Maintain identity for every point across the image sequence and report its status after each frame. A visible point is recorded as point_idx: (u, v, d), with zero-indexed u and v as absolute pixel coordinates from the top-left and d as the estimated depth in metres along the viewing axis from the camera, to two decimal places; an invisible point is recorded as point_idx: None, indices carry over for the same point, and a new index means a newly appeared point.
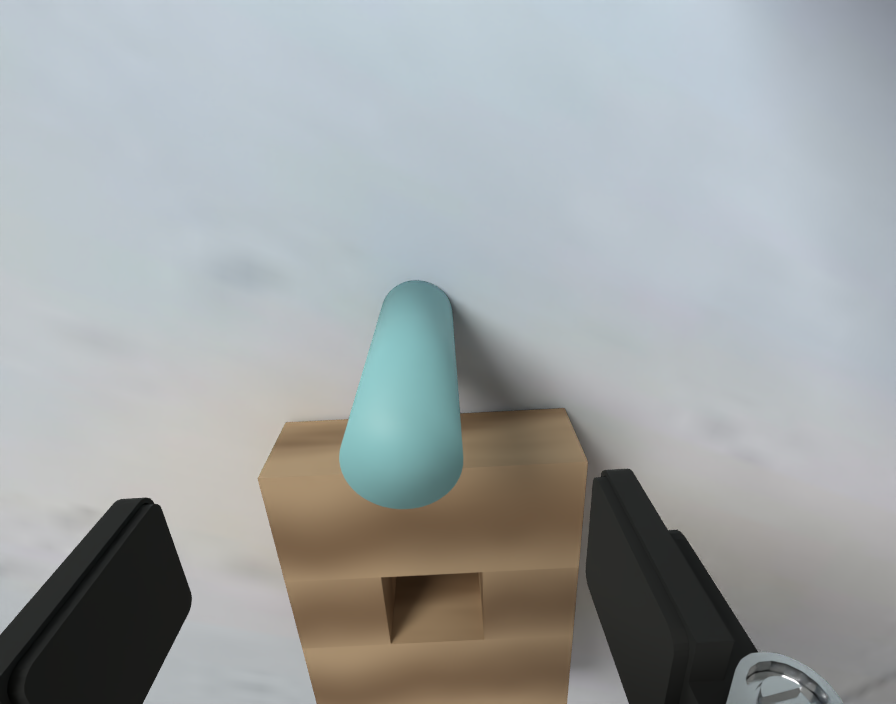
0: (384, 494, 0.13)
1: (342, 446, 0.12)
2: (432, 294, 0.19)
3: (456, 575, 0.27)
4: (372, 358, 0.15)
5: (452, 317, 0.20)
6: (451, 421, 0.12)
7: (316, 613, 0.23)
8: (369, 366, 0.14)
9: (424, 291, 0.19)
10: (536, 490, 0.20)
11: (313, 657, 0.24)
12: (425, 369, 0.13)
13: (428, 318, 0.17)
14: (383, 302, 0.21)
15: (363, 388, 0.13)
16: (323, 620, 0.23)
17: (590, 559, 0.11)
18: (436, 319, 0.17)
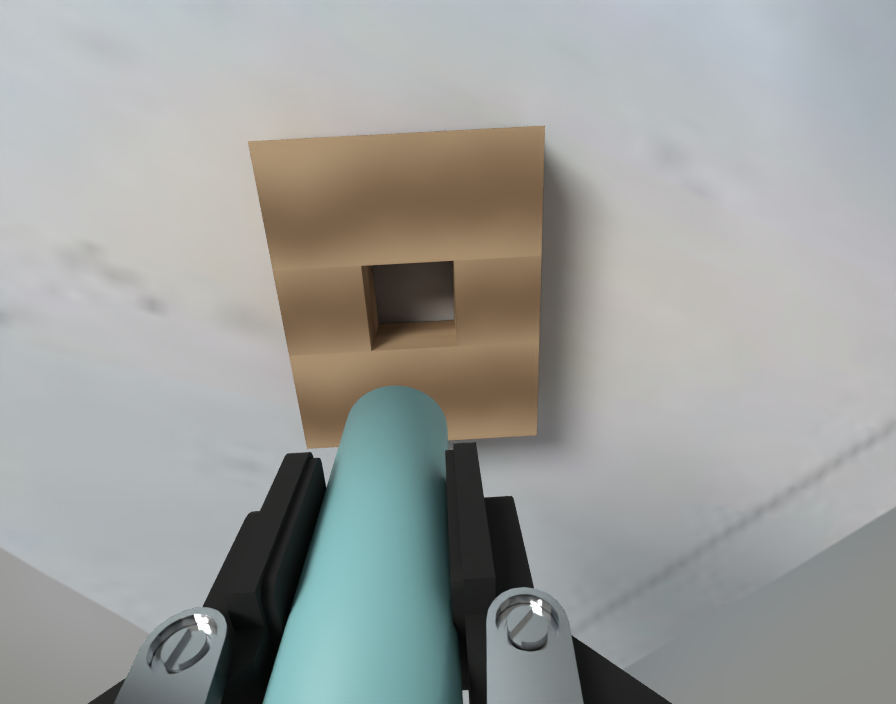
0: None
1: None
2: (418, 413, 0.13)
3: (434, 322, 0.29)
4: (307, 584, 0.08)
5: (447, 442, 0.14)
6: None
7: (301, 310, 0.25)
8: (299, 609, 0.08)
9: (405, 409, 0.13)
10: (499, 160, 0.22)
11: (299, 367, 0.26)
12: (397, 645, 0.07)
13: (409, 476, 0.11)
14: (348, 416, 0.14)
15: (276, 692, 0.07)
16: (308, 320, 0.25)
17: None
18: (421, 474, 0.11)
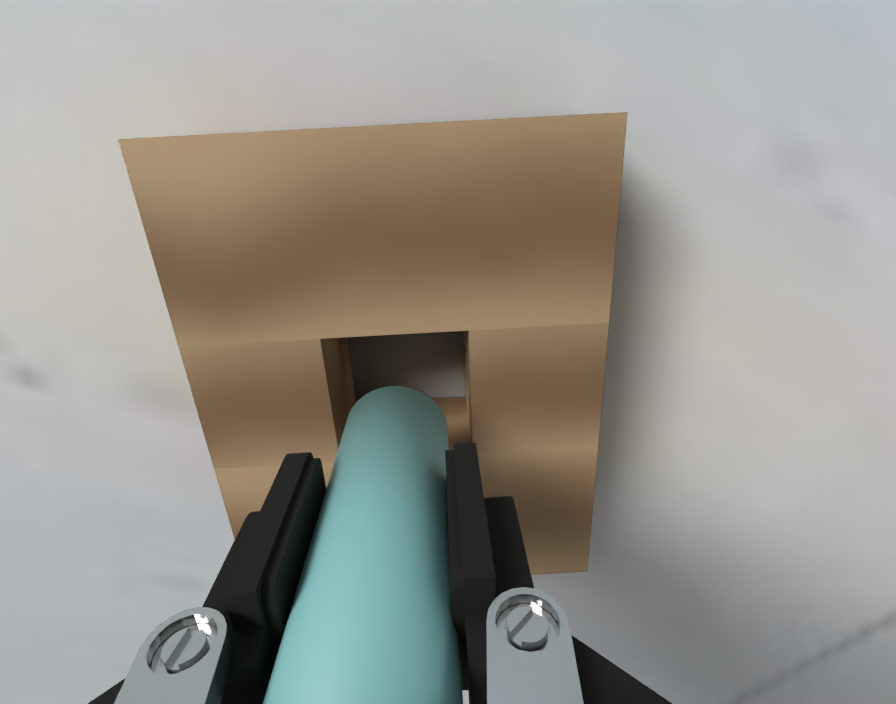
0: None
1: None
2: (418, 413, 0.13)
3: (436, 400, 0.20)
4: (307, 584, 0.08)
5: (447, 442, 0.14)
6: None
7: (229, 405, 0.16)
8: (299, 610, 0.08)
9: (406, 410, 0.13)
10: (547, 171, 0.13)
11: (231, 484, 0.17)
12: (396, 645, 0.07)
13: (409, 477, 0.11)
14: (348, 416, 0.14)
15: (276, 692, 0.07)
16: (240, 419, 0.16)
17: None
18: (422, 474, 0.11)
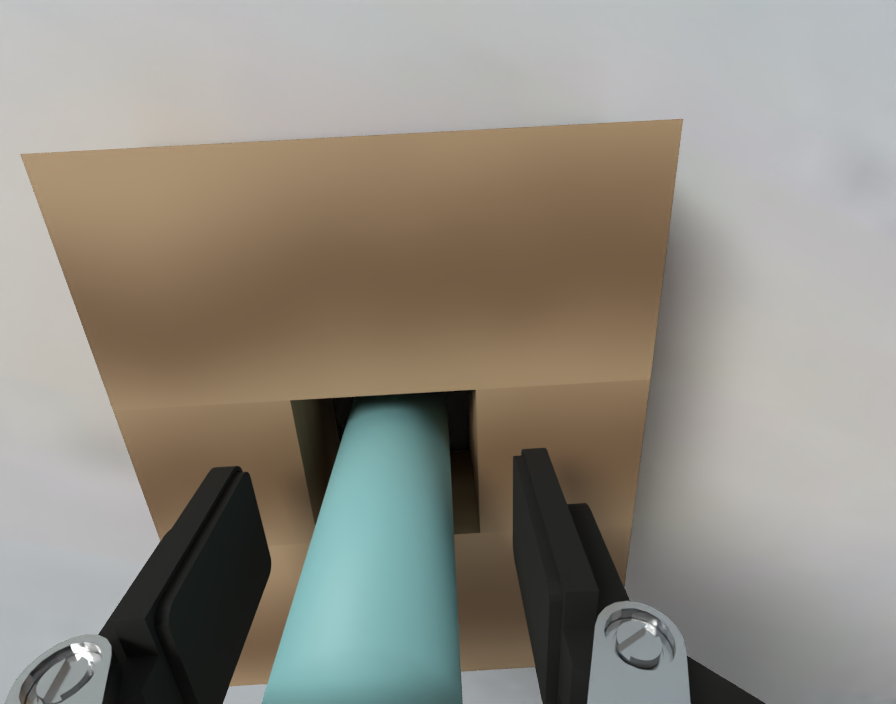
0: None
1: (265, 699, 0.07)
2: None
3: None
4: (330, 502, 0.10)
5: (447, 404, 0.16)
6: (443, 652, 0.07)
7: (179, 479, 0.13)
8: (324, 519, 0.10)
9: None
10: (578, 193, 0.10)
11: None
12: (404, 538, 0.09)
13: (413, 425, 0.12)
14: None
15: (309, 572, 0.09)
16: None
17: (514, 533, 0.12)
18: (424, 424, 0.13)
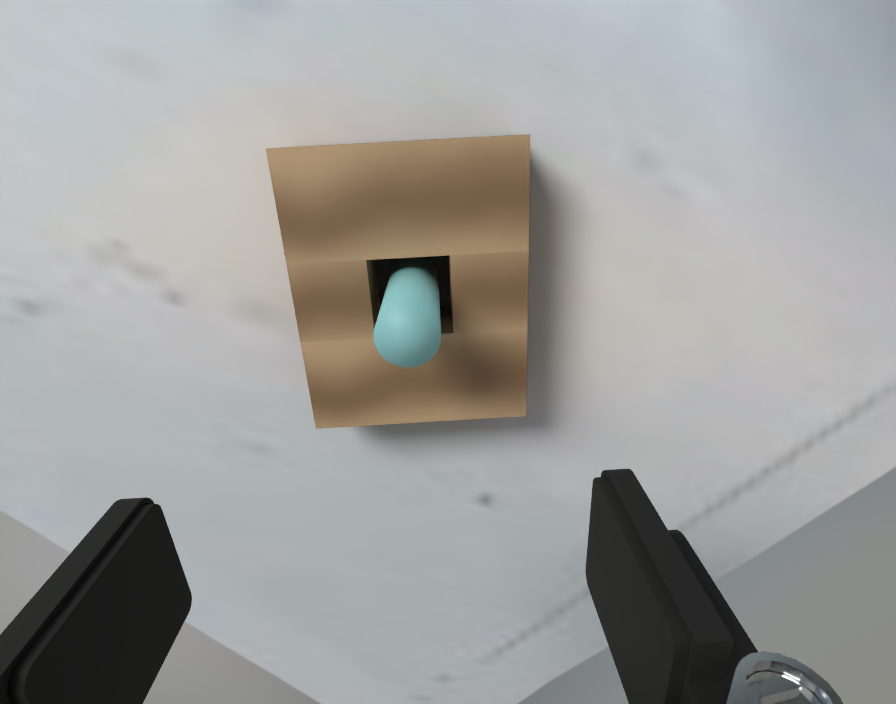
0: (397, 358, 0.23)
1: (375, 327, 0.22)
2: (424, 262, 0.30)
3: None
4: (388, 291, 0.25)
5: None
6: (434, 315, 0.22)
7: (312, 301, 0.28)
8: (387, 294, 0.25)
9: (419, 260, 0.30)
10: (490, 165, 0.25)
11: (310, 353, 0.29)
12: (420, 292, 0.24)
13: (421, 273, 0.27)
14: None
15: (385, 302, 0.23)
16: (318, 309, 0.28)
17: (590, 559, 0.11)
18: (426, 274, 0.27)
